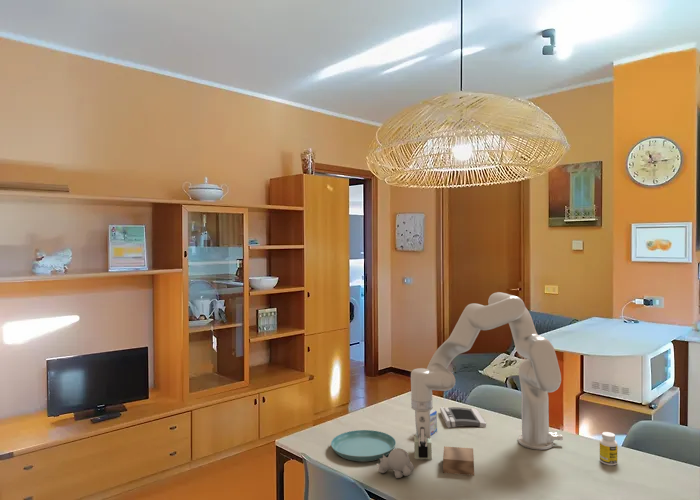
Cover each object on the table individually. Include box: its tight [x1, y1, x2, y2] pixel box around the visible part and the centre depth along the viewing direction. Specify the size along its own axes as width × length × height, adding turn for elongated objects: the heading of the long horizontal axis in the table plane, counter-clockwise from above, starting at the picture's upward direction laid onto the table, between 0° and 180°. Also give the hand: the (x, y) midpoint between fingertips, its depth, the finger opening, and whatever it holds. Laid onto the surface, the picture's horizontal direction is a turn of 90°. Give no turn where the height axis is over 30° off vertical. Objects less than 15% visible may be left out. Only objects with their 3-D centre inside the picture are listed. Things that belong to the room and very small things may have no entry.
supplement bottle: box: [599, 431, 618, 466], centre depth 170 cm, size 5×5×10 cm
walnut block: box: [442, 446, 475, 476], centre depth 169 cm, size 10×10×5 cm
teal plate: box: [330, 429, 397, 463], centre depth 185 cm, size 24×24×3 cm
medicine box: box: [430, 409, 438, 436], centre depth 198 cm, size 8×4×9 cm, turn 143°
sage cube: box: [413, 434, 433, 460], centre depth 179 cm, size 6×6×6 cm
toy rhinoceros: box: [376, 447, 414, 479], centre depth 166 cm, size 7×12×8 cm, turn 65°
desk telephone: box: [439, 406, 487, 429], centre depth 212 cm, size 17×5×16 cm
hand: (423, 452), depth 179 cm, fingers closed on sage cube, 6 cm apart
